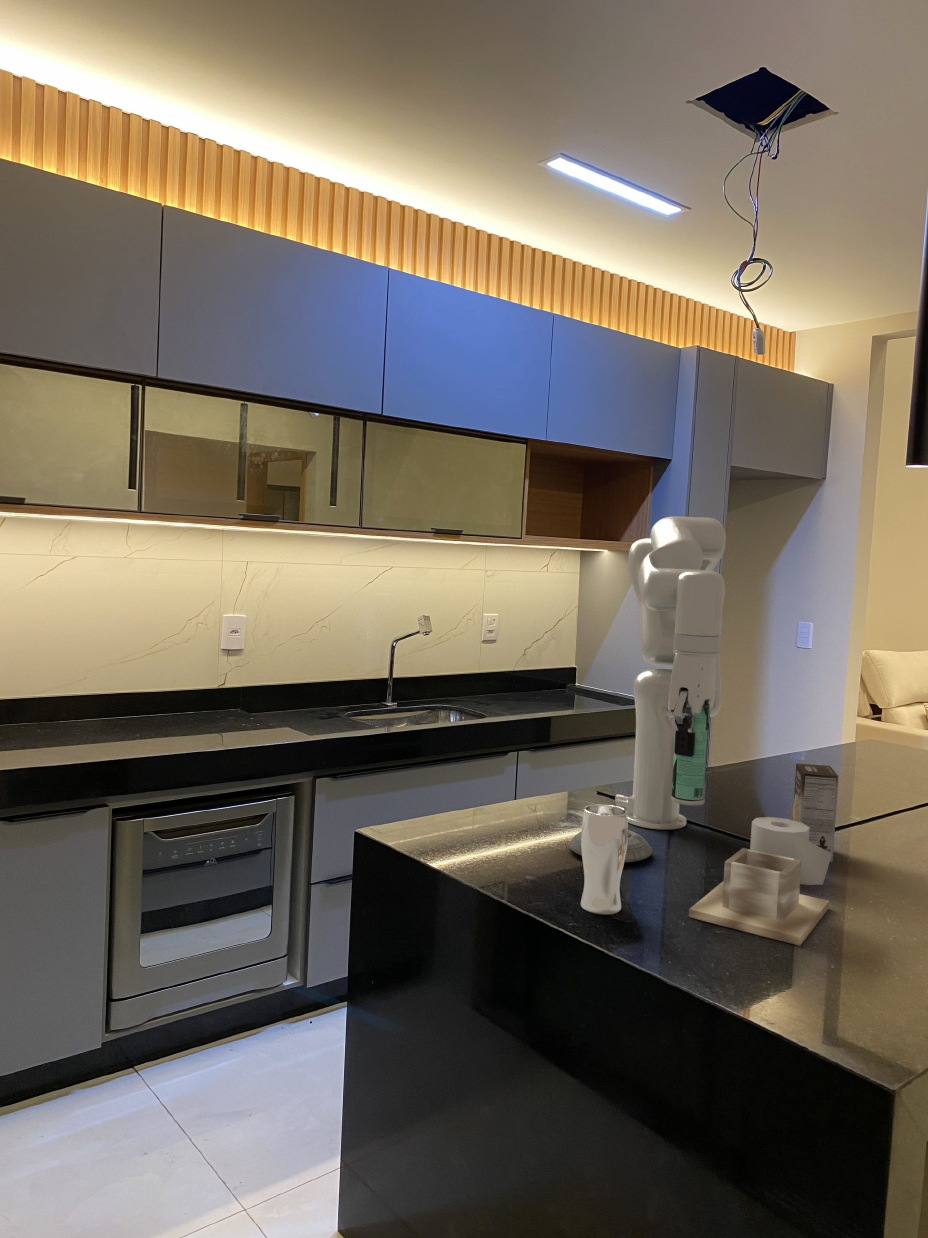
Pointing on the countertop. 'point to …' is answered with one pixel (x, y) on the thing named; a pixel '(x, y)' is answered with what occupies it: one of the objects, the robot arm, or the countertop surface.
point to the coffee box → (816, 803)
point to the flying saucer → (635, 847)
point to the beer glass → (603, 856)
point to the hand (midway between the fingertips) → (690, 751)
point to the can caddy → (762, 898)
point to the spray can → (693, 764)
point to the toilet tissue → (791, 846)
